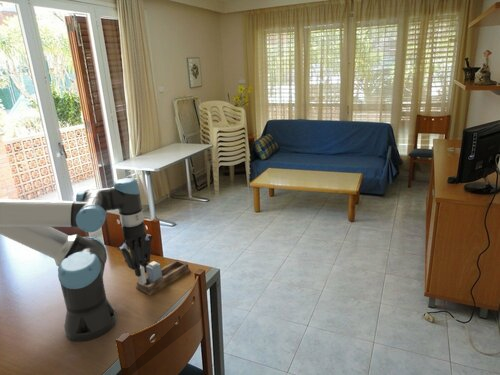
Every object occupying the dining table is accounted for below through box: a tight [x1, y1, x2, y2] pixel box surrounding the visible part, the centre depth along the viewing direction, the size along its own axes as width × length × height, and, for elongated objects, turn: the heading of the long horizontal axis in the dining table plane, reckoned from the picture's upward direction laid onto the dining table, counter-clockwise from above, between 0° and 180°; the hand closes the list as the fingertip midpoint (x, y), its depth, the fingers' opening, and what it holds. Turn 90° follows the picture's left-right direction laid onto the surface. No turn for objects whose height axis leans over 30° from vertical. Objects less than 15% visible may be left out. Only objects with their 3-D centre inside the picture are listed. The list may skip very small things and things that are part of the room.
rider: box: [146, 260, 162, 284], centre depth 136 cm, size 4×3×8 cm
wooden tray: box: [135, 259, 191, 296], centre depth 141 cm, size 20×8×3 cm, turn 143°
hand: (142, 282), depth 132 cm, fingers closed
